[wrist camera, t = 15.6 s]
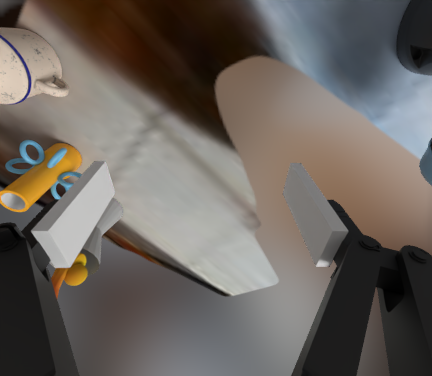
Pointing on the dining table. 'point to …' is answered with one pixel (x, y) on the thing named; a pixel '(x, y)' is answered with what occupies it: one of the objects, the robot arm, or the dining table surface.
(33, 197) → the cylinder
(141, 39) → the dining table surface
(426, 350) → the robot arm
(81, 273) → the lava lamp
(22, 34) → the teacup with lid
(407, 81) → the dining table surface
